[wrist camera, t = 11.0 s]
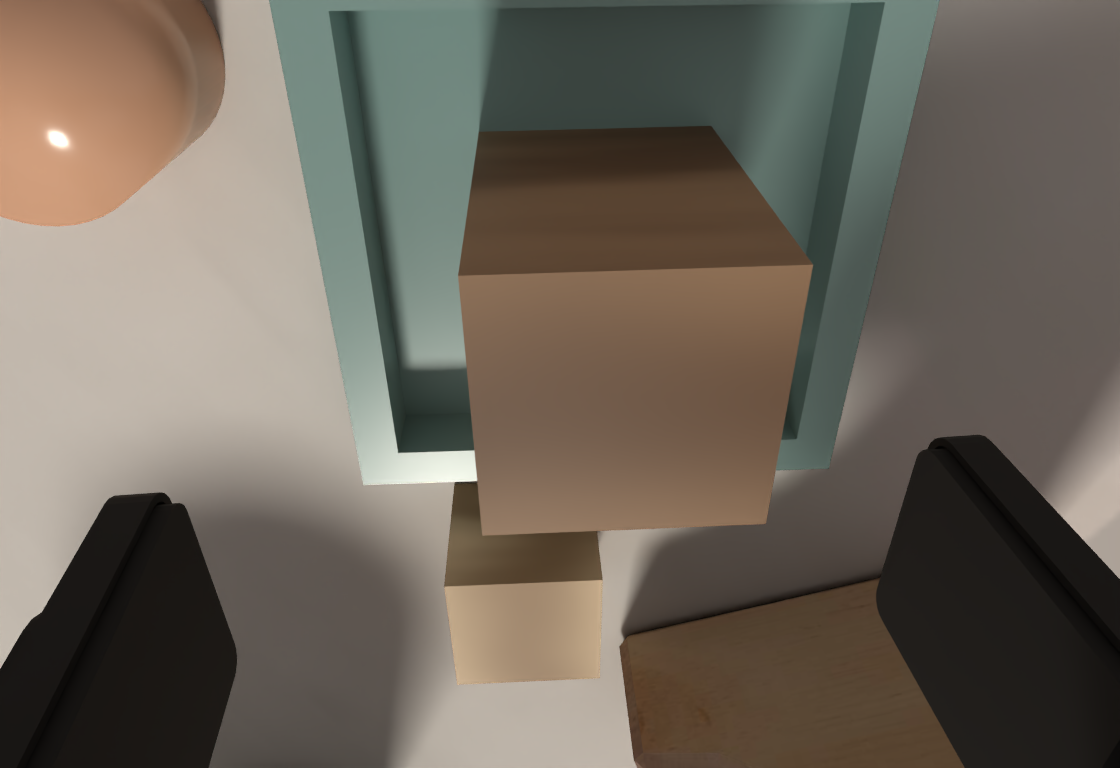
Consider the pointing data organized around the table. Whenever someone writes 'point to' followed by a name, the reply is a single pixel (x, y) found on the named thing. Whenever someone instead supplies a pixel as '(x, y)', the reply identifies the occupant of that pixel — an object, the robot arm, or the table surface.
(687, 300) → the walnut block
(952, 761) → the decorative block
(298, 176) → the table surface
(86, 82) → the peach round blob
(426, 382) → the tray
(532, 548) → the oak cube
